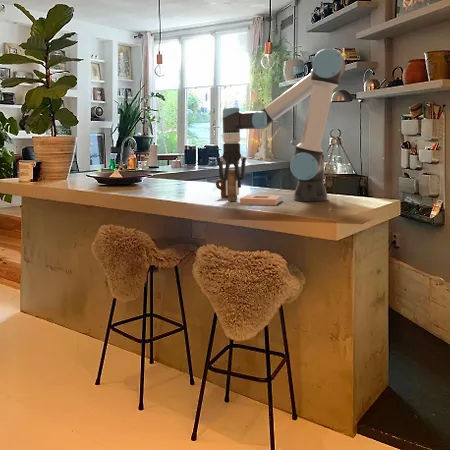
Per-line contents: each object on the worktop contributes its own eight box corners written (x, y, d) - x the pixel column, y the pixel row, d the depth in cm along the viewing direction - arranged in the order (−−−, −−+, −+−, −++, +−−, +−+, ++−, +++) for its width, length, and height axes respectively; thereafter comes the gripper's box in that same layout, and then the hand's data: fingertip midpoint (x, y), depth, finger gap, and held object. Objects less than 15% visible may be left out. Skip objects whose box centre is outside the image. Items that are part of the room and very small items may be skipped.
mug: (222, 199, 248) (221, 179, 247) (211, 198, 254) (210, 178, 252) (239, 196, 257) (239, 177, 255) (228, 195, 262) (228, 176, 260)
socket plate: (247, 200, 244) (247, 194, 244) (281, 201, 240) (281, 195, 239) (239, 204, 231) (239, 198, 230) (275, 205, 226) (275, 199, 226)
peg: (229, 199, 243) (229, 169, 241) (238, 200, 242) (237, 169, 240) (227, 201, 240) (226, 170, 237) (235, 201, 238) (235, 170, 236)
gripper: (210, 143, 235) (212, 195, 239) (248, 142, 230) (248, 196, 234) (215, 142, 242) (217, 193, 246) (252, 142, 237) (252, 194, 242)
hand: (232, 194), depth 240 cm, fingers closed on peg, 4 cm apart
